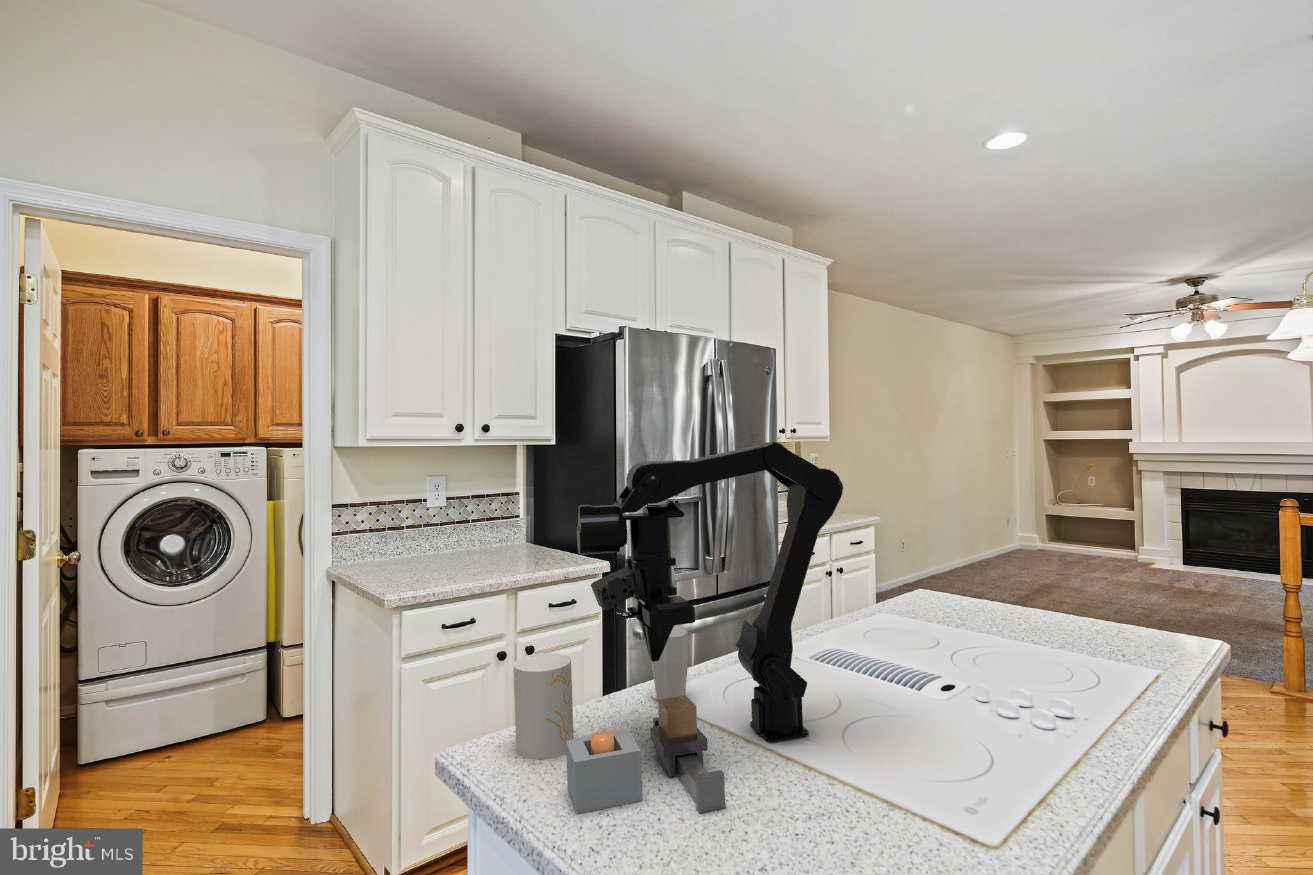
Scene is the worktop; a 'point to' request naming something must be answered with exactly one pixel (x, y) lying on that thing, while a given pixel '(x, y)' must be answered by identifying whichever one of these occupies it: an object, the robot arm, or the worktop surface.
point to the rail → (700, 781)
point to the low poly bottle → (672, 662)
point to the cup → (543, 705)
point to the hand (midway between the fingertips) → (654, 660)
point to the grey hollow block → (603, 773)
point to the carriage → (677, 732)
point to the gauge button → (602, 743)
